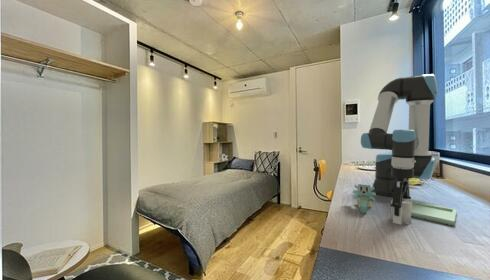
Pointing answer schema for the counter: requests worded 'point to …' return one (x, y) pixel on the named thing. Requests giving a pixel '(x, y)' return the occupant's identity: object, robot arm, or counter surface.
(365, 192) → the toy
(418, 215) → the tray
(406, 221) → the cream rounded capsule
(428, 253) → the counter surface
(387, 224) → the counter surface
